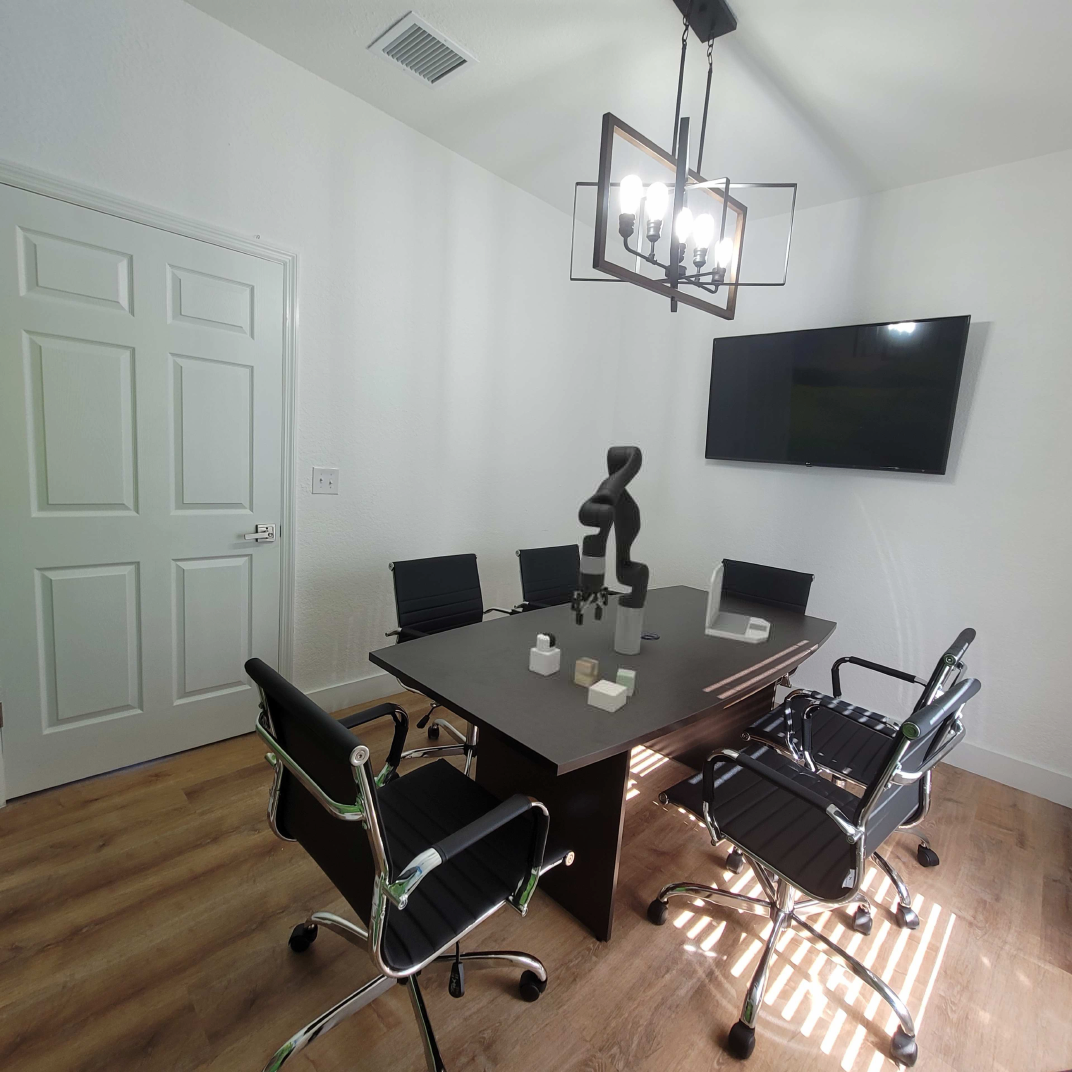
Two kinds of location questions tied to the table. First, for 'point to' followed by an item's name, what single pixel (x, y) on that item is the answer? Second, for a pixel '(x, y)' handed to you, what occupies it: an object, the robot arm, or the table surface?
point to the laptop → (731, 617)
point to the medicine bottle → (545, 655)
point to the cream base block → (607, 695)
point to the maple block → (586, 672)
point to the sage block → (626, 680)
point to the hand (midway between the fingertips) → (588, 622)
